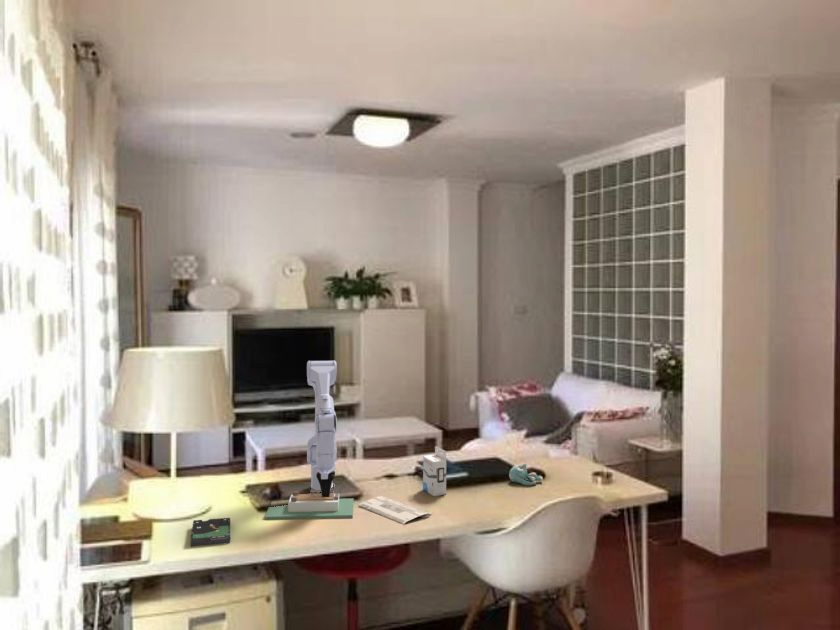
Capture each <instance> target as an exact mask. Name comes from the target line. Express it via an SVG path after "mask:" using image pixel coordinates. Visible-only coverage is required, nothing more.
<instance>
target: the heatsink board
mask: <svg viewBox="0 0 840 630" xmlns="http://www.w3.org/2000/svg"><path fill="white" fill-rule="evenodd" d="M296 494H299V491H292V494H291V495H290V497H289V499H288V500H289V502H288V505H284V506H283V505H282V506H276V507H275V506H274V507H269V506H268V507H267V511H266V513H265V516H264V520H299V519H301V520H303V519H306V520H307V519H309V520H310V519H346V518H347V519H349V518H352V519H353V517H354V516H353V515H354V504H355V503H354V502H355V499H354V498H355V497H354V498H340V493H337V492H336V493H335V492H334V499H321V500H297V497H295V495H296Z"/></svg>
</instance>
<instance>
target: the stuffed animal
mask: <svg viewBox="0 0 840 630" xmlns="http://www.w3.org/2000/svg"><path fill="white" fill-rule="evenodd" d="M526 468H527V463H523V464H521V465H514V466H512V467H511V469H510V470H509V473H508V476H509V479H510V481H511V482H514V483H515V484H521V485H522V486H533V485H536V483H537V481H538V482H543V481H544V478H543V476H541V475H538V474H537V473H536V472H530V473H528V470H527V469H526Z"/></svg>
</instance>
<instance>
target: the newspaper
mask: <svg viewBox="0 0 840 630" xmlns="http://www.w3.org/2000/svg"><path fill="white" fill-rule="evenodd" d="M358 507H359V508H362V509H364V510H367V511H369V512H371V513H374V514H377V515H379V516H381V517H384V518H387V519H389V520H391V521H394V522H397V523H398V524H401V525H405V524H406V523H407V522H409V521H411V520H413V519H415V518H418V517H419V518H422V519H424V518H429V517H430V515H431V514H432V512H430V511H427V510H423V509H421V508H418V507H415V506H411V505H408V504H405V503H402V502H401V501H397V500H395V499H392V498H388V497H386V496H383V495H378V496H376V497H372V498H370V499H368V500H366V501H363V502H360V503H359V504H358Z"/></svg>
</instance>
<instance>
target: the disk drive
mask: <svg viewBox="0 0 840 630" xmlns="http://www.w3.org/2000/svg"><path fill="white" fill-rule="evenodd" d="M192 521H193V522H192V527H191V528H192V529H191V535H190V547H191V548H192V547H202V546H213V545H214V546H215V545H223V544H224V543H226V544H231V518H230V517H222V518H220V517H219V518H209V519H207V520H203V519H197V520H196V519H195V520H192Z"/></svg>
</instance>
